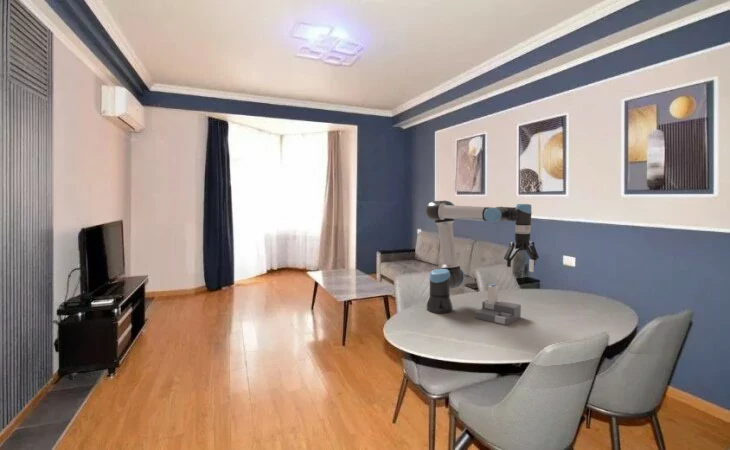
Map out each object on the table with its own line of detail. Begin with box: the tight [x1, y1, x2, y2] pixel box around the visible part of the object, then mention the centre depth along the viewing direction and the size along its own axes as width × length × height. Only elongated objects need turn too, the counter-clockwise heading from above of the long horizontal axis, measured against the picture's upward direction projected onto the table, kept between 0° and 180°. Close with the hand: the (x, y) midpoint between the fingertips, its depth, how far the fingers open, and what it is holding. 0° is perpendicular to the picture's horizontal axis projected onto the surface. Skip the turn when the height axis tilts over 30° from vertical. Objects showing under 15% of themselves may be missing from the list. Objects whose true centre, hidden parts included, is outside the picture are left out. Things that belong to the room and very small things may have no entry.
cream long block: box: [487, 283, 499, 304], centre depth 211 cm, size 4×4×13 cm
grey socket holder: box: [474, 299, 522, 326], centre depth 205 cm, size 18×18×7 cm
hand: (520, 272), depth 200 cm, fingers open, 13 cm apart
